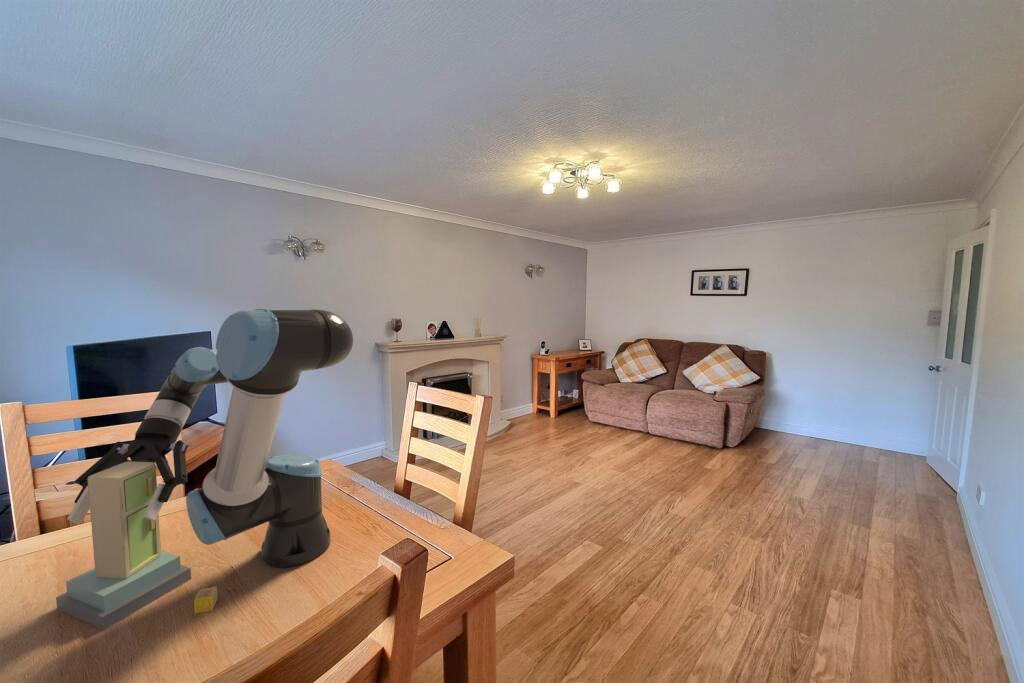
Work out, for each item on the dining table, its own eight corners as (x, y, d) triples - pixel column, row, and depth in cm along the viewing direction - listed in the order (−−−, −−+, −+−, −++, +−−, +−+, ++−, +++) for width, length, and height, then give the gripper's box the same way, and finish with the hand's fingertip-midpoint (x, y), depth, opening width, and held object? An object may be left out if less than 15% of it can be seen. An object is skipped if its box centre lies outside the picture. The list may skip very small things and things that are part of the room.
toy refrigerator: (128, 580, 80) (121, 477, 79) (94, 578, 81) (85, 476, 79) (165, 555, 88) (159, 462, 86) (133, 554, 89) (127, 460, 87)
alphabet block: (218, 599, 83) (217, 585, 83) (213, 610, 80) (212, 595, 80) (200, 603, 82) (199, 589, 82) (194, 614, 79) (193, 599, 79)
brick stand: (191, 578, 89) (189, 554, 89) (104, 629, 75) (101, 601, 75) (146, 563, 94) (144, 541, 94) (57, 609, 80) (54, 582, 79)
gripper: (228, 430, 98) (189, 522, 85) (115, 432, 96) (56, 528, 82) (213, 415, 93) (169, 511, 79) (92, 416, 90) (25, 516, 77)
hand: (111, 520), depth 81 cm, fingers open, 13 cm apart
